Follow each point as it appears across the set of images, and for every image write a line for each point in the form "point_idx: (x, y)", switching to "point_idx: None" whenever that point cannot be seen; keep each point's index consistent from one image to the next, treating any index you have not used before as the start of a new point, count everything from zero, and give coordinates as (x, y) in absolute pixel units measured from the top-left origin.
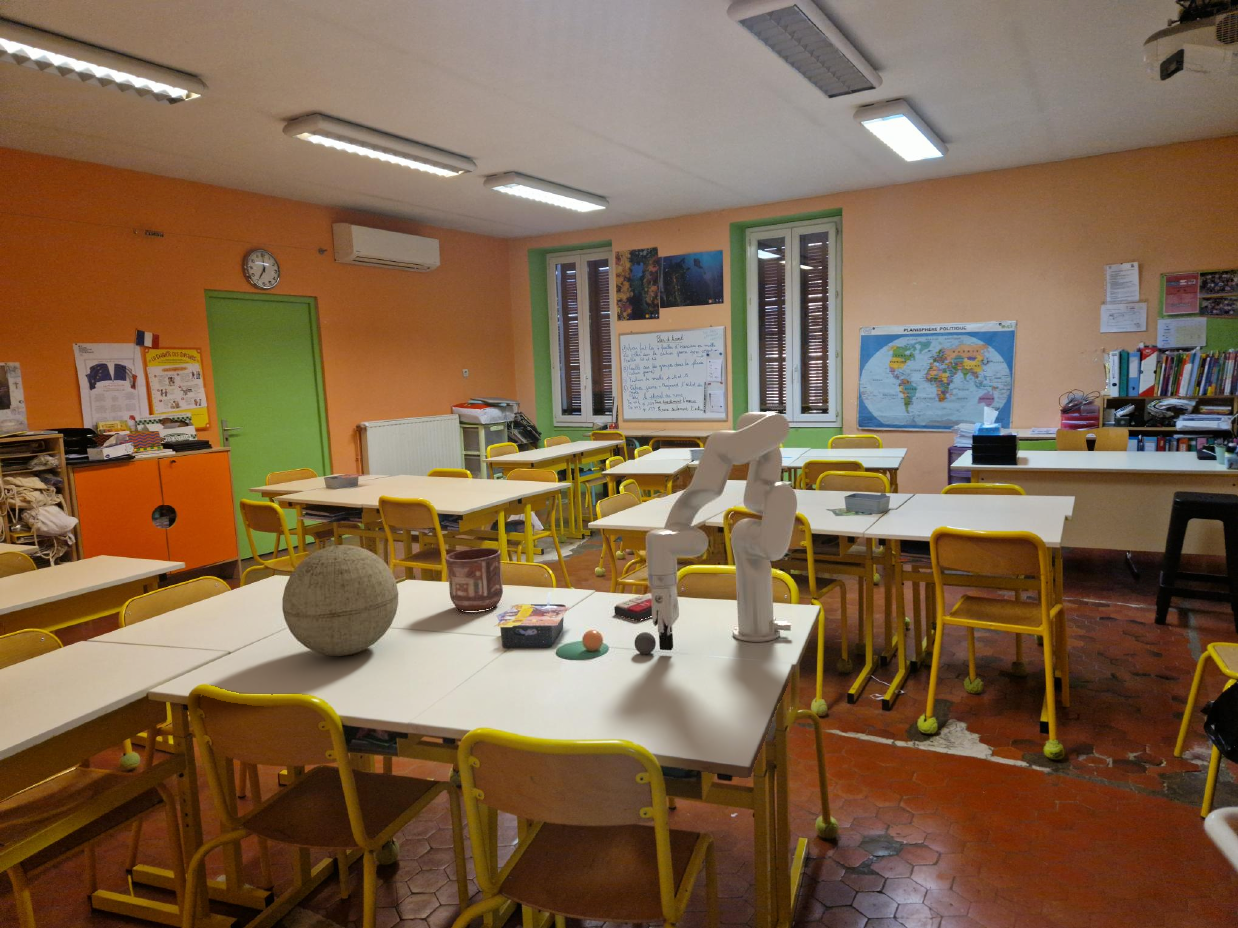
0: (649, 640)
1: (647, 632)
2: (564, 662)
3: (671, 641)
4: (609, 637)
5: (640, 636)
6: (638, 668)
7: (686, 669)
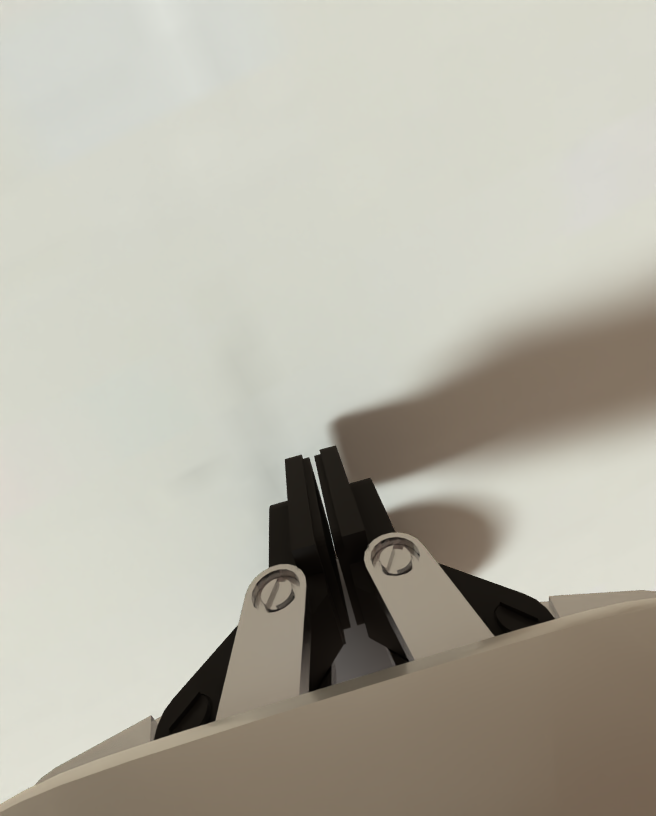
0: None
1: None
2: None
3: (347, 483)
4: None
5: None
6: (575, 492)
7: (560, 183)
